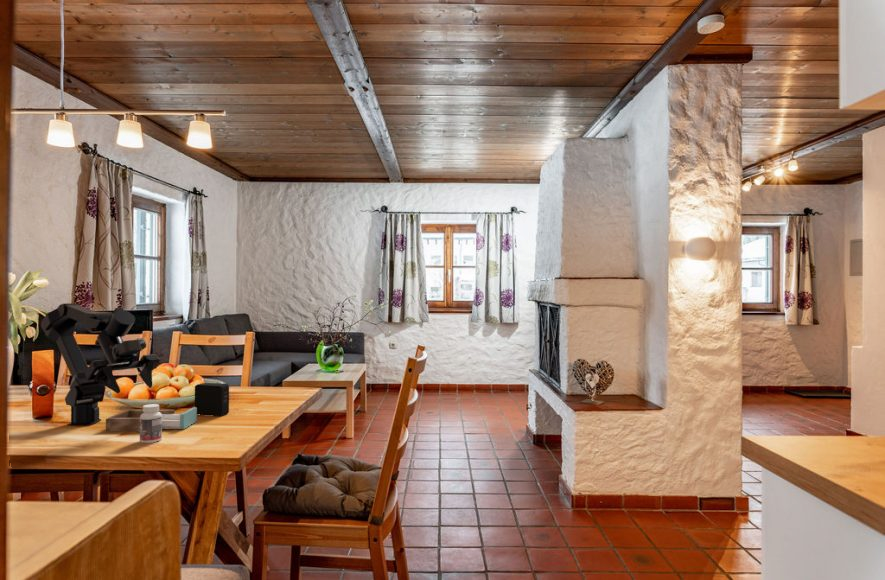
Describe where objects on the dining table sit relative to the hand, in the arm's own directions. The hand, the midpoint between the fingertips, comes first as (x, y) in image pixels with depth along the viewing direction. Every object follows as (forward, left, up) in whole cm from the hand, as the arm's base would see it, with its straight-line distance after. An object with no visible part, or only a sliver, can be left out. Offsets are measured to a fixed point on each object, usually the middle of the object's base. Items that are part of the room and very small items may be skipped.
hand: (135, 389), depth 154 cm
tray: (+5, +11, -13) cm, 18 cm away
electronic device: (+12, +26, -13) cm, 32 cm away
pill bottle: (+7, -5, -13) cm, 16 cm away
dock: (-4, +11, -13) cm, 18 cm away
